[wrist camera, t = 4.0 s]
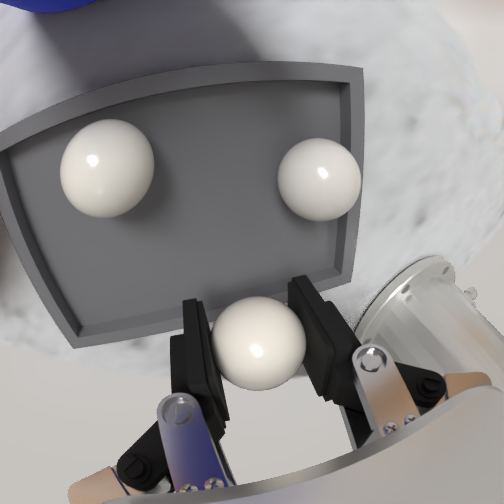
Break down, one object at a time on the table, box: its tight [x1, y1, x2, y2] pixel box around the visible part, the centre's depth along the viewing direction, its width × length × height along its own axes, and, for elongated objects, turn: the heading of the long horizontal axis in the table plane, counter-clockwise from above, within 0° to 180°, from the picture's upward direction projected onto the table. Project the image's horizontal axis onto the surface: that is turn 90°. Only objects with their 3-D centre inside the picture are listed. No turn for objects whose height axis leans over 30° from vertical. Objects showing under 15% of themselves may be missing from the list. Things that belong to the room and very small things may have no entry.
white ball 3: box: [277, 138, 361, 222], centre depth 11 cm, size 4×4×4 cm
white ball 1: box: [60, 119, 154, 218], centre depth 8 cm, size 4×4×4 cm
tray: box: [0, 61, 365, 349], centre depth 12 cm, size 17×12×1 cm
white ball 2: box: [210, 296, 306, 391], centre depth 10 cm, size 4×4×4 cm
